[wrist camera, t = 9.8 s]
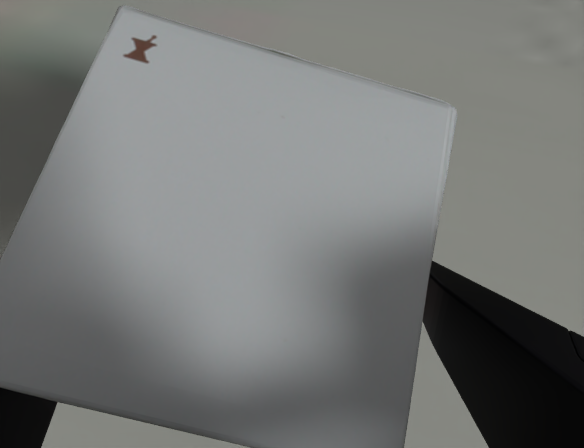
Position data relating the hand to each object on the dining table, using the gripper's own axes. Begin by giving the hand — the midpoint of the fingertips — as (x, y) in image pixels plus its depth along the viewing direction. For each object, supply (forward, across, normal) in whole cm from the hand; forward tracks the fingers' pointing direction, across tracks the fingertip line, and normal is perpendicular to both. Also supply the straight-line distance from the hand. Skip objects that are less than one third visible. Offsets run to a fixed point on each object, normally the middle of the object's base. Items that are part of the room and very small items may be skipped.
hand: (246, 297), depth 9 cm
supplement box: (+8, 0, +6) cm, 10 cm away
